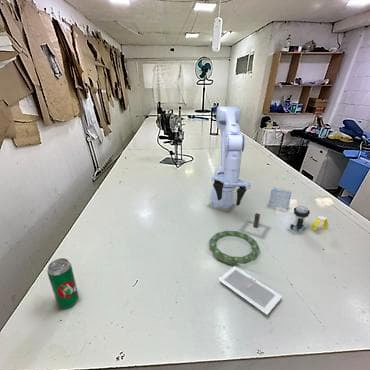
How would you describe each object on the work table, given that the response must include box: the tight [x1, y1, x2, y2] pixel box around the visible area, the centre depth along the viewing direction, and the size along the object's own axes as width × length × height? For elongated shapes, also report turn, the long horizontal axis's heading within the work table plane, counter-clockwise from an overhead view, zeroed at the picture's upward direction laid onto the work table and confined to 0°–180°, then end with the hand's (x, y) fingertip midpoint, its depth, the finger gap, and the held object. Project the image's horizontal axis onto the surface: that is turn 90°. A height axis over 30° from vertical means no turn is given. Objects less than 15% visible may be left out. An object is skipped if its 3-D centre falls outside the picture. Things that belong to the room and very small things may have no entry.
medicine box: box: [268, 186, 292, 210], centre depth 105 cm, size 8×4×9 cm, turn 58°
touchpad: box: [217, 265, 283, 315], centre depth 63 cm, size 8×15×2 cm, turn 43°
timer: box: [312, 215, 329, 232], centre depth 88 cm, size 6×3×6 cm, turn 110°
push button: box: [289, 205, 311, 232], centre depth 87 cm, size 7×5×10 cm
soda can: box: [46, 257, 80, 309], centre depth 57 cm, size 5×5×12 cm
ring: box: [208, 230, 261, 266], centre depth 79 cm, size 16×16×2 cm
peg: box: [252, 212, 261, 229], centre depth 89 cm, size 8×8×6 cm
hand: (228, 201), depth 91 cm, fingers open, 7 cm apart
